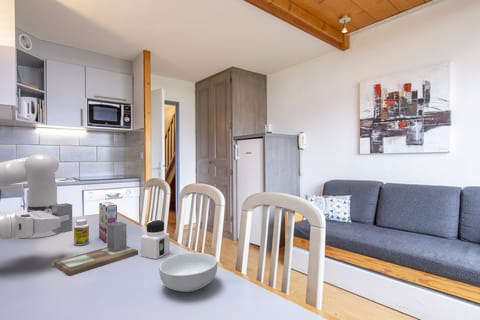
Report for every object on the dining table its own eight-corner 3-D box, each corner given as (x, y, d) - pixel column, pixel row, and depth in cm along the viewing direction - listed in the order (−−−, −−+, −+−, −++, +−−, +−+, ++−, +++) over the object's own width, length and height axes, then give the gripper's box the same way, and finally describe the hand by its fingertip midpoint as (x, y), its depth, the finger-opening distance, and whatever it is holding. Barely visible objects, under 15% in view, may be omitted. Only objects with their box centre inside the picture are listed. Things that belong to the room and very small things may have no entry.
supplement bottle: (74, 246, 113) (74, 222, 112) (73, 243, 117) (73, 219, 117) (89, 244, 116) (89, 220, 116) (88, 240, 120) (88, 218, 120)
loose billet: (52, 231, 101) (51, 205, 101) (66, 228, 105) (66, 203, 105) (57, 233, 98) (57, 206, 98) (72, 230, 102) (72, 204, 102)
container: (169, 252, 106) (170, 220, 106) (156, 259, 99) (156, 224, 99) (154, 249, 109) (154, 218, 109) (140, 256, 102) (140, 222, 102)
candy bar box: (117, 241, 120) (117, 204, 120) (105, 243, 117) (105, 206, 116) (110, 235, 128) (110, 201, 128) (98, 237, 125) (98, 202, 125)
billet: (107, 249, 104) (107, 224, 104) (119, 246, 108) (119, 221, 108) (113, 252, 101) (113, 226, 101) (126, 249, 105) (126, 223, 105)
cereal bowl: (186, 269, 91) (186, 248, 91) (227, 281, 83) (228, 258, 83) (146, 290, 76) (146, 266, 76) (191, 307, 68) (191, 280, 68)
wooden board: (54, 265, 93) (54, 260, 93) (120, 247, 112) (120, 242, 112) (69, 276, 85) (69, 270, 85) (138, 254, 104) (138, 249, 104)
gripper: (10, 227, 97) (54, 220, 108) (28, 238, 85) (76, 228, 96) (10, 210, 97) (54, 204, 108) (28, 218, 85) (76, 211, 96)
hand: (64, 216), depth 102 cm, fingers closed on loose billet, 5 cm apart
